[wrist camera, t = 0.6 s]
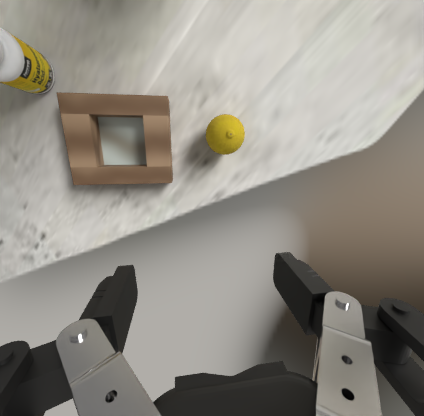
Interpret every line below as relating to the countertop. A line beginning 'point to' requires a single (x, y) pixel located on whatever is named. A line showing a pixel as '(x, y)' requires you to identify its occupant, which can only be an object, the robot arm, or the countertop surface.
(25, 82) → the supplement bottle
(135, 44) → the countertop surface
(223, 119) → the lemon
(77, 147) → the block
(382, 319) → the robot arm
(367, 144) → the countertop surface
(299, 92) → the countertop surface
